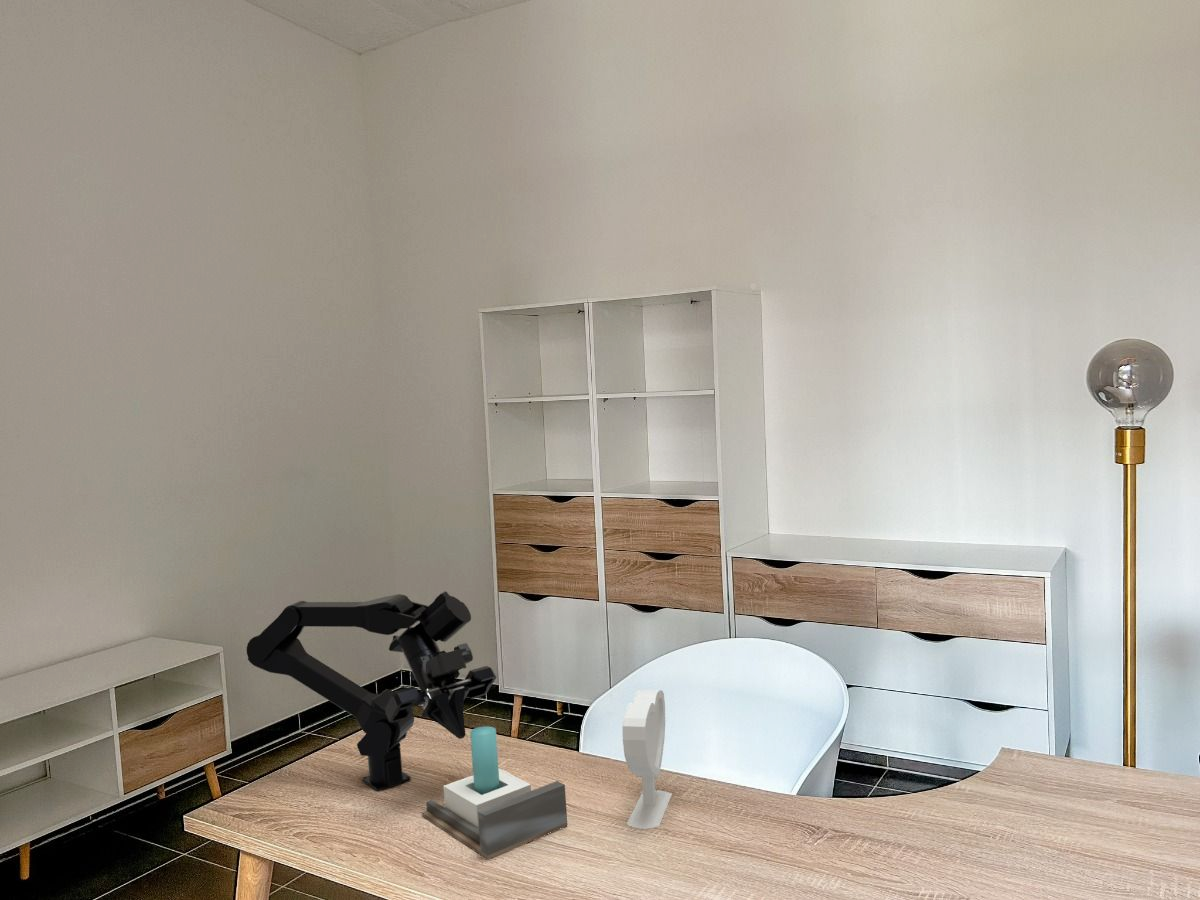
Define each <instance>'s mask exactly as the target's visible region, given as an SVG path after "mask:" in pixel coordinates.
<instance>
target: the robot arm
mask: <svg viewBox="0 0 1200 900" xmlns="http://www.w3.org/2000/svg"><path fill="white" fill-rule="evenodd" d="M471 620H472V615H471V612H470V610H469V607H467V605H466V604H465V602H463V601H461V600H460V599H459V598H456V597H455V596H453V595H452V596H451V595H450V593H448V592H447V591H446V590H445V591H443V592H441V593H440V594H439V595H437V596H436V597H435V598H434V600H433V602H431V603H430V604H429V605H426V604H421V603H418V602H415V601H412V600H411V599H410V598H409V596H407V595H405V594H402V593H401V594H400V593H399V594H397V593H396V594H394V595H393V594H392V595H388V596H382V597H379V598H375V599H371V600H366V601H328V602H327V601H304V600H299V601H298V600H297V602H294V603H292V604H289V605H287V606H286V607H284V609H283V610H282V612H281V613H280V614H279V615H278V617H276V618H275V619H274V620H273V621H272V622H271V623H270V624H268V626H267V627H266V628H265V629H264V630H263V631H262V632H261V633H259V634H257V635H255V636H253V637H252V638H251V639H249V641H248V643H247V644H246V645H247V646H246V656H247V660H248V662H249V663H250V665H252V666H253V667H256V668H259V669H260V670H263V671H265V672H268V673H270V674H279V675H283V676H288V677H291V678H292V679H294V680H295V681H297V682H298V683H300V684H302V685H303V686H305V687H306V688H308V689H310V690H311V691H313V692H314V693H316V694H318V695H320V697H323V698H324V699H326V700H327V701H329V702H330V703H332V704H334V705H336V706H337V707H339V708H340V709H341V710H343V711H345V712H347V713H348V714H349V715H350V716H353V717H354V718H355V719H356V721H357V722H358V724H359V726H360V729H361V730H362V732H364V734H365V735H363V737H362V738H361V739H360V740H359V741H357V744H356V747H357V749H358V752H359V754H360V756H363V757H365V756H366V757H367V763H368V764H367V765H368V775H365V776H363V777H361V781H362V782H363V783H364V784H366V785H368V786H369V787H371V788H373V790H376V791H382V790H385V789H387V788H390V787H394V786H396V785H400V784H402V782H403V783H406V782H409V781H410V780H411V776H410V775H409V774H407V773H405V772H404V771H403V763H402V752H401V742H402V741H403V740H405V739H406V738H407V733H408V731H410V730H411V728H412V727H413V726H414V722H415V714H414V710H413V708H414V707H416V706H421V707H422V709H423V712H422V714H421V716H422V718H428V719H431V720H432V721H433V722H435V723H437V724H439V725H440V726H442V728H445V730H447V731H448V732H449V733H451V734H452V735H453V736H454V737H456V738H457V739H460V740H461V739H465V737H466V727H465V724H466V723H465V717H464V715H465V714H464V701H465V699H466V698H467V699H469V700H473V699H476V698H479V697H483V696H485V695H486V694H487V693H488V692H489V690H490V689H491V687H492V686H493V684H494V682H495V680H496V679H497V676H496V673H495V672H494V670H493V668H492V667H490V666H487V665H485V666H482V667H477V668H474V669H470V670H469V671H468V673H467V675H466V676H465V678H464V679H463V680H458V681H456V679H457V678H459V676H460V674H461V673H460V670H462V669H466V668H467V665H466V664H468V663H471V662H472V661H473V659H474V656H473V652H472V649H471V648H470V646H469V645H468V643H466V642H465V643H461V644H458V645H456V646H454V648H453V650H451V651H448V652H447V651H446V650H440V648H439V645H438V643H437V642H439V641H440V642H444V643H445V642H448V641H449V640H450V639H451V638H453V636H455V635H456V634H458V632H459V631H460V630H462V629H463V628H464V627H465V626H466V625H467V624H469V623H470V621H471ZM415 624H416V625H415ZM413 625H415V626H413ZM305 627H316V628H317V627H324V628H326V627H329V628H330V627H331V628H332V627H335V628H336V627H341V628H343V627H345V628H346V627H347V628H348V627H349V628H353V627H355V628H360V629H363V630H365V631H367V632H370V633H374V634H375V633H376V634H380V635H384V636H390V635H391V636H392V635H393V634H394V635H393V636H392V640H391V643H390V644H389V647H388V651H389V652H397V653H403V655H404V657H405V660H406V662H407V664H408V666H409V668H410V670H411V672H410V675H409V677H410V679H411V680H412V681H416V683H417V685H418V688H419V689H420V692H418V690H417V689H418V688H417V687H414V686H409V687H405V688H402V689H398V690H395V691H392V690H390V689H389V688H386V689H385V690H383V691H382V692H381V693H380V694H377V693H372V692H370V691H369V690H367V689H365V688H363V687H362V686H361V685H359V684H357V683H355V682H354V681H352V680H351V679H350V678H348V677H346V676H344V675H343V674H341V673H340V672H338V671H336V670H335V669H333V668H331V667H330V666H329V665H328V664H327V665H326V664H325V663H324V662H322V661H320V660H318V659H317V658H316V657H315V656H312V655H310V654H309V653H308V652H307V651H306V650H305V648H304V646H303V644H302V643H301V642H302V641H301V640H300V639H299V638H298V637H299V636H301V634H302V632H303V630H304V628H305ZM402 629H405V630H404V631H403V632H402V633H400V634H399V635H395V633H397V632H398V631H400V630H402ZM405 781H406V782H405ZM399 783H400V784H399Z"/></svg>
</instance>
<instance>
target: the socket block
mask: <svg viewBox="0 0 1200 900" xmlns="http://www.w3.org/2000/svg"><path fill="white" fill-rule="evenodd" d="M498 770H499V785H500V788H499V789H497V790H494V791H491V792H489V793H486V794H483V795H481V794H479V793H477V792H475V791H474V778H473V775H470V776H467V777H465V778H462V779H458V780H456V781H453V782H451V783H447V784H445V785H443V798H444V804H445V808H446V809H448V810H449V811H451V812H452V813H454V814H456V815H457V816H459V817H460V818H462V819H464V820H465V821H467V822H468V823H470V824H472V825H473V826H475V827H476V828H478V829H479V822H478V811H480V810H483V809H485V808H488V807H490V806H493V805H496V804H498V803H501V802H503V801H506V800H509V799H511V798H514V797H516V796H519V795H522V794H524V793H527V792H529V791H532V784H531V783H528V782H527V781H525V780H522V779H520V777H517V776H515V775H513V774H511V773H509V772H507V771H505V770H504V769H501V768H499V767H498Z"/></svg>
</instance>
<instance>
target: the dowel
mask: <svg viewBox="0 0 1200 900" xmlns="http://www.w3.org/2000/svg"><path fill="white" fill-rule="evenodd" d="M470 744H471V745H470V746H471V761H472V776H473V778H474V791H475V792H477V793H479V794H481V795H483V794H486V793H489V792H491V791H494V790H497V789H499V788H500V785H499V770H498V768H499V760H498V757H499V756H498V754H499V753H498V741H497V729H496V727H494V726H479V727H475V728H473V729H471V730H470Z"/></svg>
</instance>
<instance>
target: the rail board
mask: <svg viewBox="0 0 1200 900" xmlns="http://www.w3.org/2000/svg"><path fill="white" fill-rule="evenodd" d="M566 797H567V796H566V784H564V783H563V782H560V781H558V780H556V781H554V782H551V783H548V784H545V785H542V786H540V787H537V788H535V789H533V790H532V789H531V791H529V792H527V793H524V794H522V795H519V796H516V797H514V798H511V799H509V800H506V801H503V802H501V803H498V804H496V805H493V806H490V807H488V808H485V809H483V810H480V811H478V822H479V829H478V828H476V827H475V826H473V825H472V824H470V823H468V822H467V821H465V820H464V819H462V818H460V817H459V816H457V815H456V814H454V813H452V812H451V811H449V810H448V809H446V808H445V803H443V804H440V803H439V802H436V801H435V800H433V799H429V800H426V801H425V804H426V810H424V811H422V812H421V816H422V817H423V818H424V819H426V820H427V821H429V822H430V823H432V824H434V825H435V826H436V827H438V828H440V829H441V830H443V831H444V832H446V833H447V834H449V835H450V836H452V837H453V838H455V839H457V840H458V841H459V842H461V844H462V843H463V844H464V845H466V846H467V847H468V848H470V849H471V850H473V851H474V852H476V853H478V854H479V855H480V856H482V857H484V859H487V860H491V859H493V858H496V857H498V856H500V855H503V854H505V853H507V852H510V851H512V850H515V849H516V847H517V848H519V847H522V846H524V845H526V844H528V842H529V843H531V842H533V841H532V840H534V841H535V839H536V840H537V838H538V839H540V838H539V837H541V838H542V836H543V837H545V836H547V835H546V834H548V833H550V832H552V833H554V832H553V831H555V830H557V831H559V830H561V829H560V828H562V829H564V828H566V827H568V826H567V825H568V813H567V798H566ZM565 826H566V827H565ZM563 827H564V828H563ZM558 829H559V830H558ZM555 832H556V831H555ZM550 834H551V833H550ZM544 835H545V836H544ZM548 835H549V834H548ZM530 841H531V842H530ZM525 843H526V844H525ZM523 844H524V845H523ZM521 845H522V846H521ZM514 848H515V849H514Z"/></svg>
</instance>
